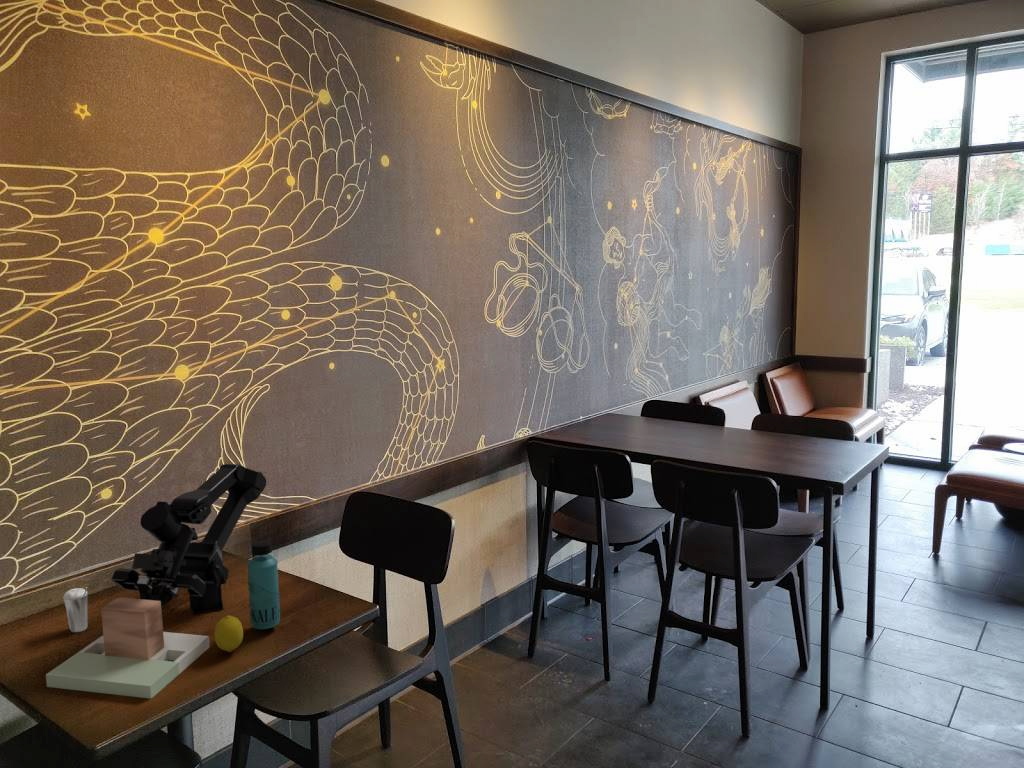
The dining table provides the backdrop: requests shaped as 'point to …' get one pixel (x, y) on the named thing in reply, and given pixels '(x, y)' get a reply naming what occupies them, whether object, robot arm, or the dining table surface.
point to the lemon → (228, 633)
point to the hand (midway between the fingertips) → (142, 622)
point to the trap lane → (128, 668)
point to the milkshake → (76, 609)
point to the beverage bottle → (263, 587)
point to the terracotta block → (132, 628)
